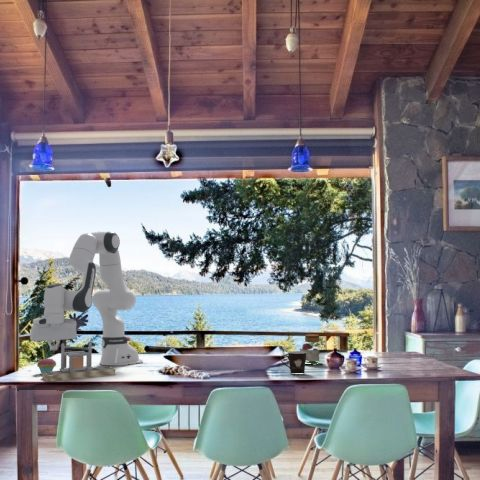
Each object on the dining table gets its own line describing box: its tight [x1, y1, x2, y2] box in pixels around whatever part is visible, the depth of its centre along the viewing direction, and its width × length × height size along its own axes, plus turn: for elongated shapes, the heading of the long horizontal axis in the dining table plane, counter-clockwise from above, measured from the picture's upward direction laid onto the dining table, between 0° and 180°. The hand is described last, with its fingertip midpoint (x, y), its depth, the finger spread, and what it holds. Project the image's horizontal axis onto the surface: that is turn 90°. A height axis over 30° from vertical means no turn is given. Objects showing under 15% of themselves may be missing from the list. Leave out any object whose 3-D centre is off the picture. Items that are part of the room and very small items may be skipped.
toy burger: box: [299, 333, 323, 365], centre depth 313 cm, size 12×13×15 cm
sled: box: [59, 341, 94, 372], centre depth 277 cm, size 14×5×12 cm, turn 123°
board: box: [42, 365, 116, 382], centre depth 277 cm, size 31×10×3 cm, turn 123°
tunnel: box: [64, 350, 89, 374], centre depth 277 cm, size 9×10×8 cm
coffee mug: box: [279, 350, 307, 374], centre depth 283 cm, size 12×9×10 cm
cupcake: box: [36, 348, 57, 375], centre depth 286 cm, size 9×8×12 cm
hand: (53, 350), depth 271 cm, fingers closed
